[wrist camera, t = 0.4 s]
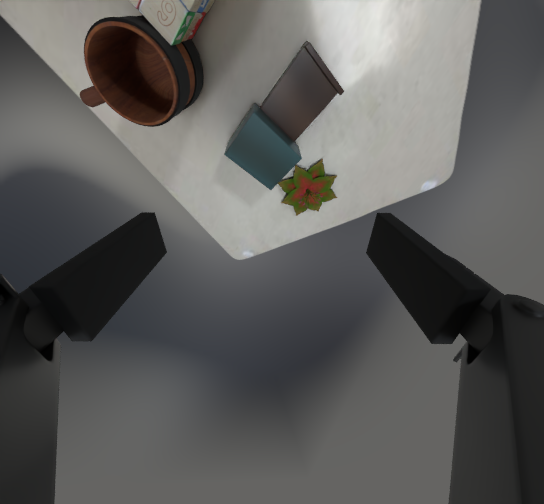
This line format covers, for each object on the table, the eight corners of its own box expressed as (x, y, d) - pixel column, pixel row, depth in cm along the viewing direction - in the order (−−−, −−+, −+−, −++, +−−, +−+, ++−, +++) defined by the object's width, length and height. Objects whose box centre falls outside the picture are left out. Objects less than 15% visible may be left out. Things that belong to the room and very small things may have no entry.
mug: (91, 42, 25) (13, 47, 17) (180, 2, 23) (140, -14, 15) (142, 121, 31) (102, 152, 23) (215, 94, 29) (200, 118, 21)
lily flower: (292, 221, 47) (294, 235, 44) (265, 178, 39) (265, 191, 36) (345, 198, 43) (352, 211, 40) (327, 144, 35) (333, 156, 32)
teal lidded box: (300, 32, 25) (307, 34, 21) (343, 93, 30) (355, 103, 26) (225, 144, 34) (220, 159, 31) (266, 177, 39) (267, 194, 35)
